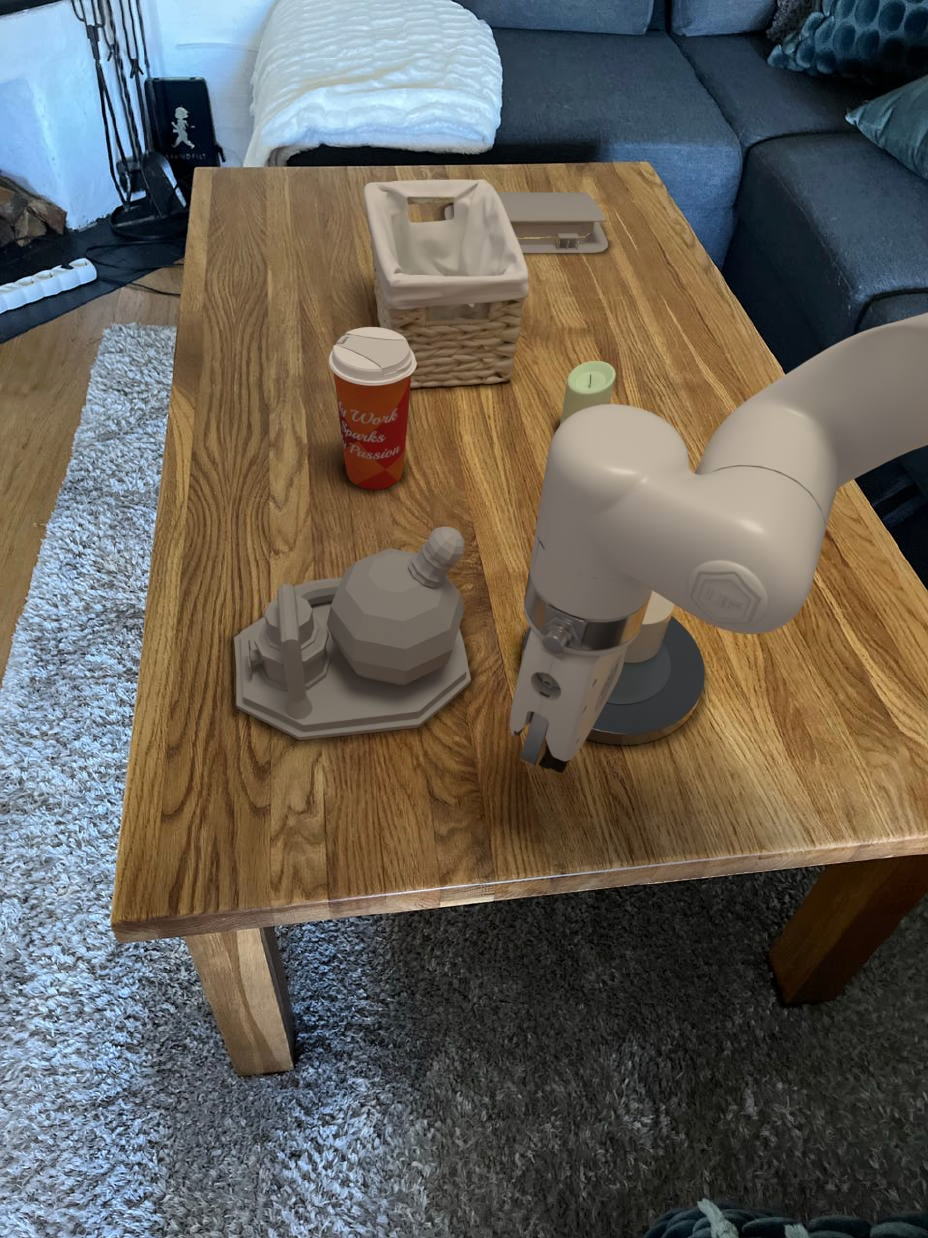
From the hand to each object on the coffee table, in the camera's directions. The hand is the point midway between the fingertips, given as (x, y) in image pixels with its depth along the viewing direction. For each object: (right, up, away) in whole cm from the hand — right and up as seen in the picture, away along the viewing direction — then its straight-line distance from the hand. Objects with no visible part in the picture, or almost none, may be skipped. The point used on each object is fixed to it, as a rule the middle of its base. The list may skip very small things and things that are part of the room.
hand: (548, 757), depth 71 cm
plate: (+7, +6, +12) cm, 15 cm away
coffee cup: (-16, +26, +28) cm, 41 cm away
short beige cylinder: (+8, +9, +12) cm, 17 cm away
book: (+3, +68, +66) cm, 95 cm away
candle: (+7, +31, +34) cm, 47 cm away
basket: (-10, +46, +45) cm, 65 cm away
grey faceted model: (-16, +7, +11) cm, 21 cm away
